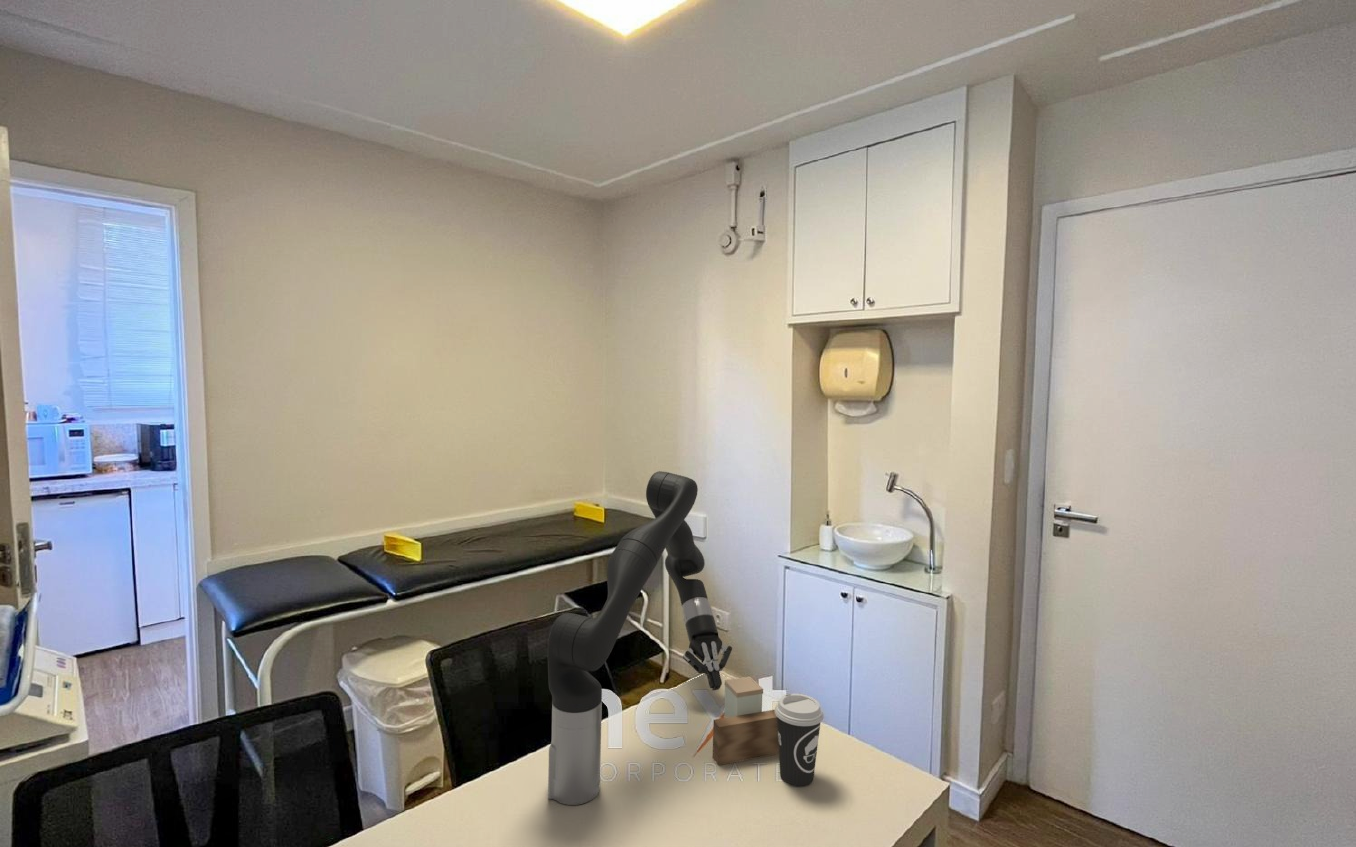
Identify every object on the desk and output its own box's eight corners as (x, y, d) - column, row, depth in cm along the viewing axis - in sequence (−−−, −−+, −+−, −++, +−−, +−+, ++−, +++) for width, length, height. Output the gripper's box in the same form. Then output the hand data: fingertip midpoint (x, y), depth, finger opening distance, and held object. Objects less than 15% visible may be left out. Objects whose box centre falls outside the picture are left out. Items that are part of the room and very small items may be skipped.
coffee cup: (813, 762, 129) (816, 691, 129) (827, 791, 120) (830, 715, 119) (767, 762, 129) (770, 691, 128) (778, 792, 119) (780, 715, 118)
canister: (735, 753, 132) (737, 693, 131) (722, 737, 138) (724, 680, 137) (761, 748, 134) (763, 688, 134) (748, 733, 140) (750, 676, 139)
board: (718, 765, 127) (719, 726, 127) (712, 757, 130) (713, 719, 130) (787, 751, 133) (788, 715, 133) (780, 744, 136) (781, 708, 135)
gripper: (678, 615, 154) (695, 686, 143) (727, 610, 159) (747, 679, 148) (671, 629, 159) (686, 698, 148) (718, 624, 164) (737, 691, 153)
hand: (716, 688), depth 148 cm, fingers closed
